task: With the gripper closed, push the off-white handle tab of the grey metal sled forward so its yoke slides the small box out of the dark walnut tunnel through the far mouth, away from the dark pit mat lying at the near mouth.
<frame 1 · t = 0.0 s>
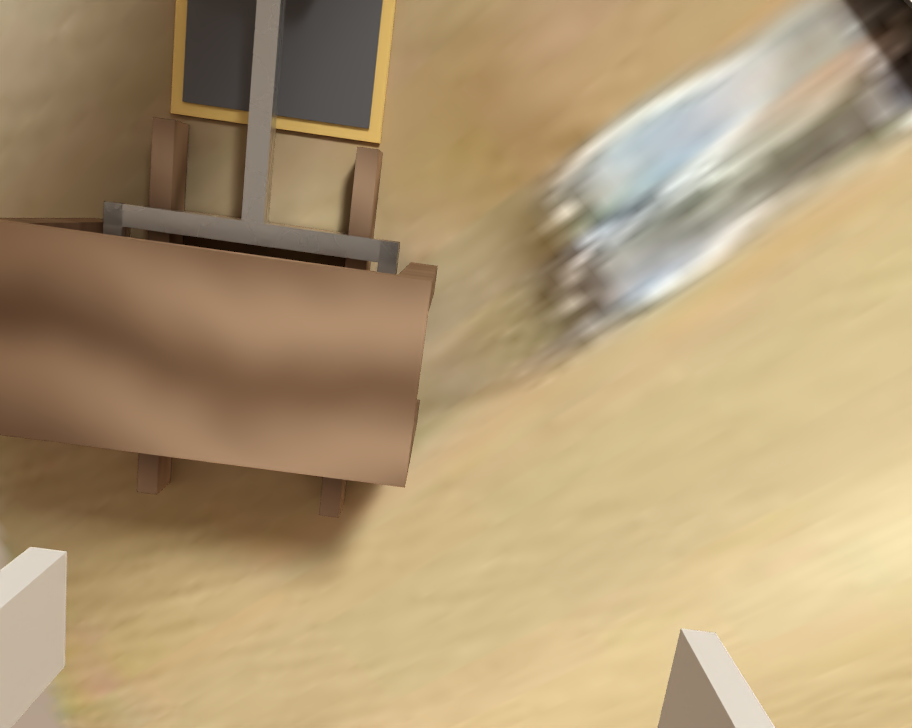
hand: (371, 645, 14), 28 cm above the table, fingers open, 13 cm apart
pit mat: (284, 35, 38), on the table
tunnel: (261, 324, 41), on the table
sled: (257, 200, 37), point 3 cm above the table, slide at 0.0 cm
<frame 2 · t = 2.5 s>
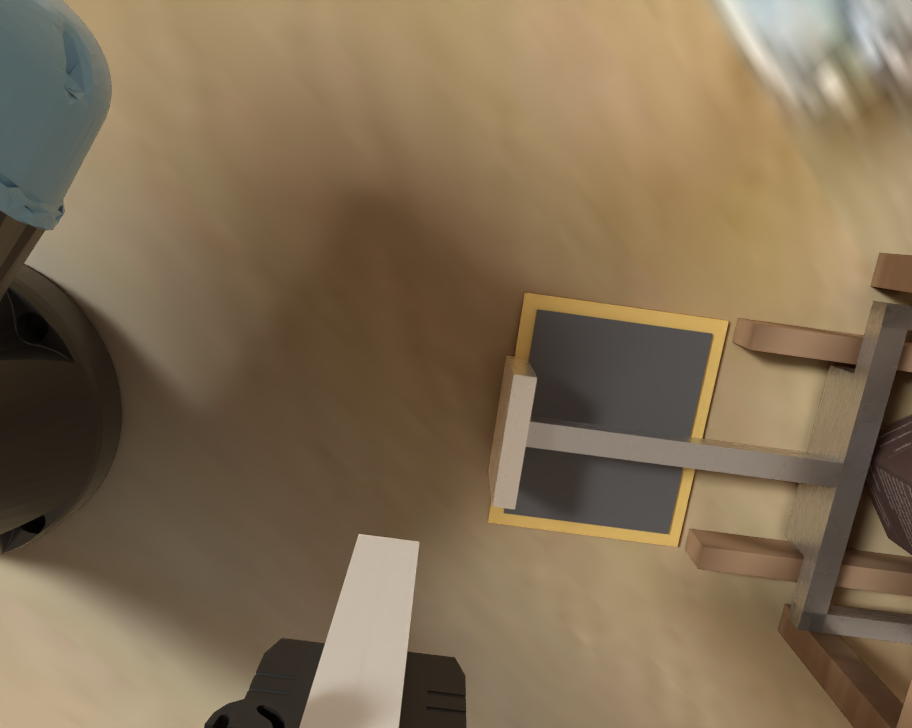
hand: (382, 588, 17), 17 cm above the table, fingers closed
pit mat: (603, 423, 34), on the table
sled: (806, 466, 32), point 3 cm above the table, slide at 0.0 cm
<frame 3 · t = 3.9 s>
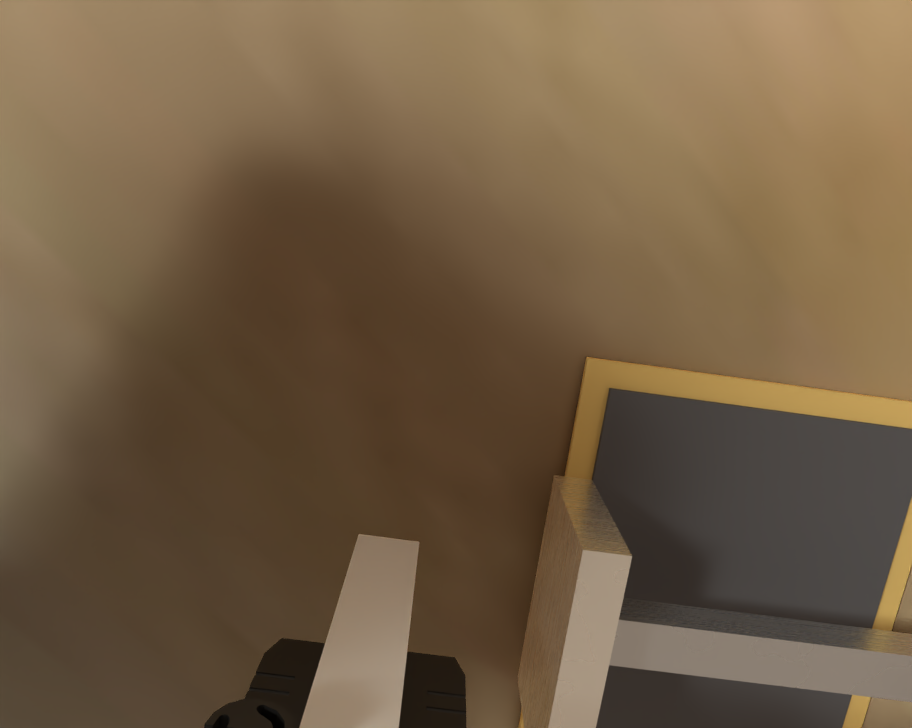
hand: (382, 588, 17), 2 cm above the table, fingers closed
pit mat: (722, 585, 19), on the table
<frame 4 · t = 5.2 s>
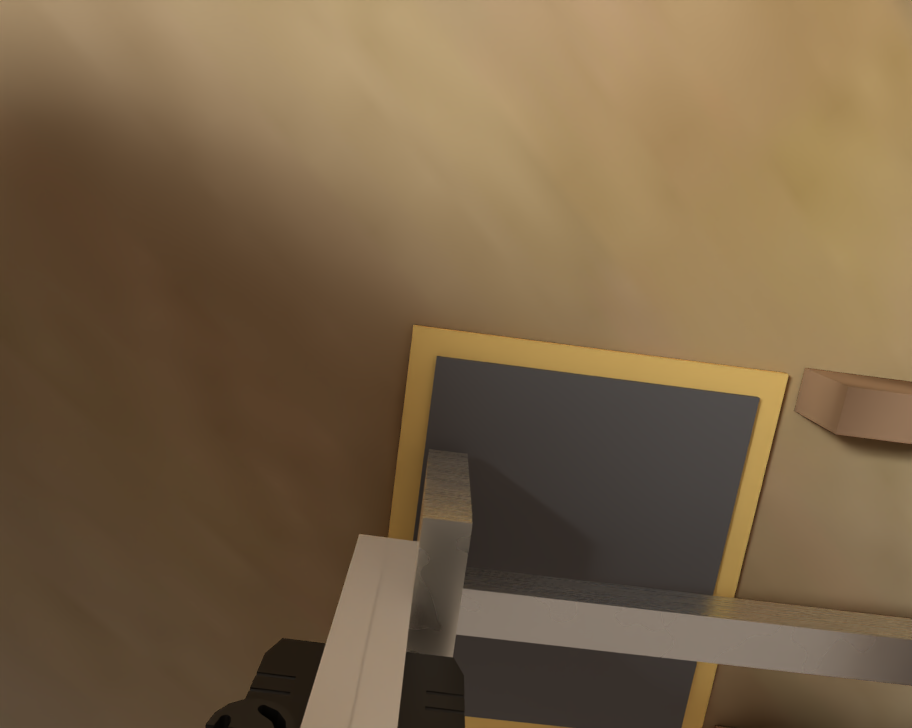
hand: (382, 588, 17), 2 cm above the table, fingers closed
pit mat: (563, 554, 19), on the table
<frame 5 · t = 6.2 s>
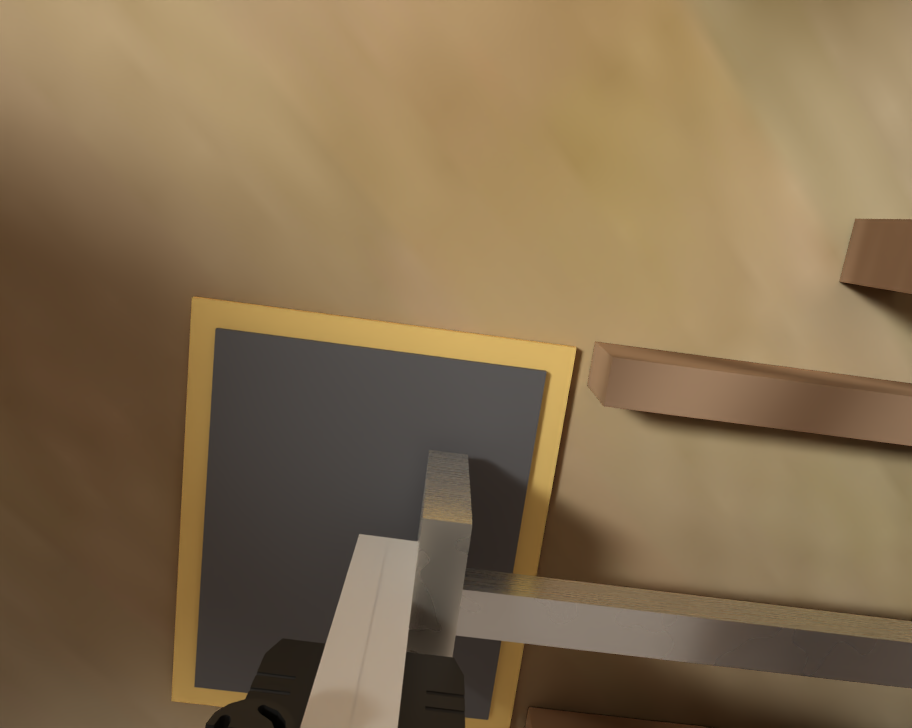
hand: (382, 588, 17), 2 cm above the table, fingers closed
pit mat: (362, 531, 19), on the table
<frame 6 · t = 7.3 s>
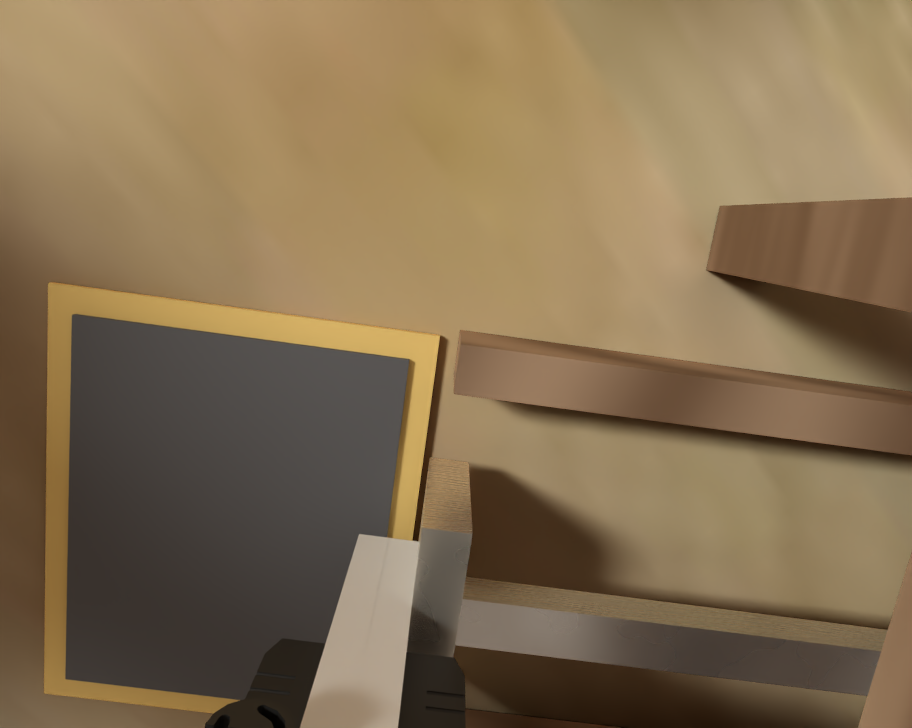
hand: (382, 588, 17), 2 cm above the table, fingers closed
pit mat: (232, 522, 19), on the table
tunnel: (813, 596, 19), on the table
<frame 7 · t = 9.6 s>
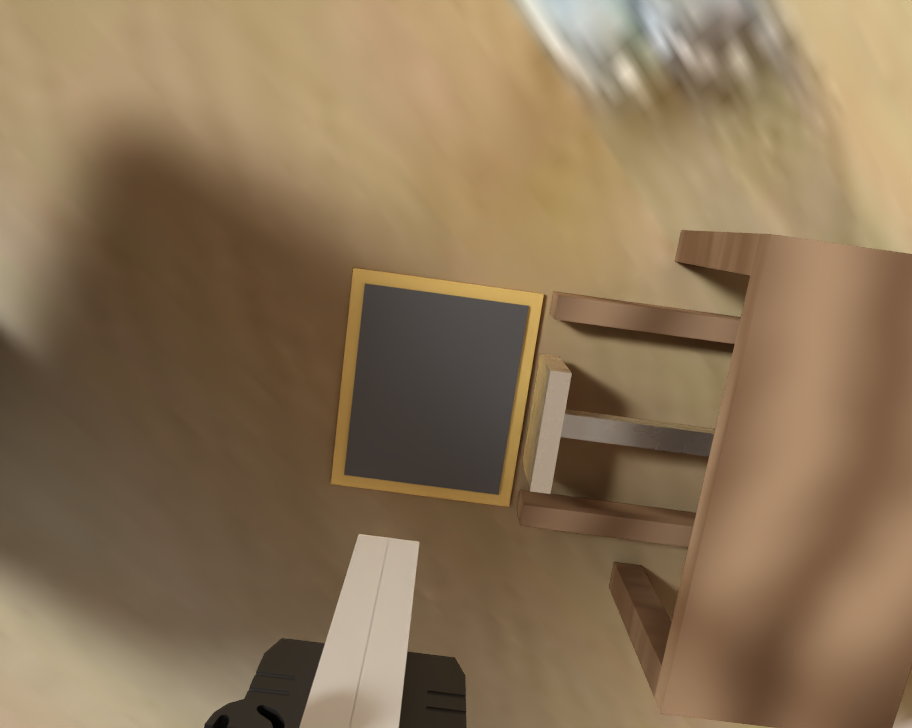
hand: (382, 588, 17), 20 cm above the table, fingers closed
pit mat: (434, 391, 37), on the table
tunnel: (732, 430, 37), on the table
sled: (817, 455, 34), point 3 cm above the table, slide at 10.7 cm
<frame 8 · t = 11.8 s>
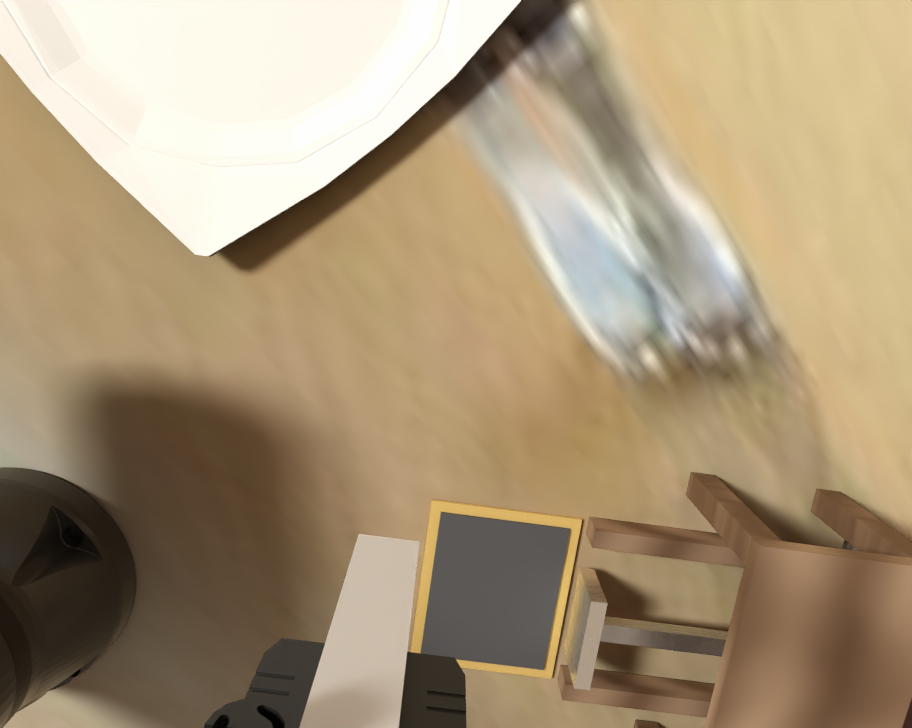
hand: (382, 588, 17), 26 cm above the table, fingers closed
pit mat: (493, 590, 46), on the table
tunnel: (731, 620, 46), on the table
sled: (797, 651, 44), point 3 cm above the table, slide at 10.7 cm
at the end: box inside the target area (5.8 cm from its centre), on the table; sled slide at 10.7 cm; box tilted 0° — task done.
